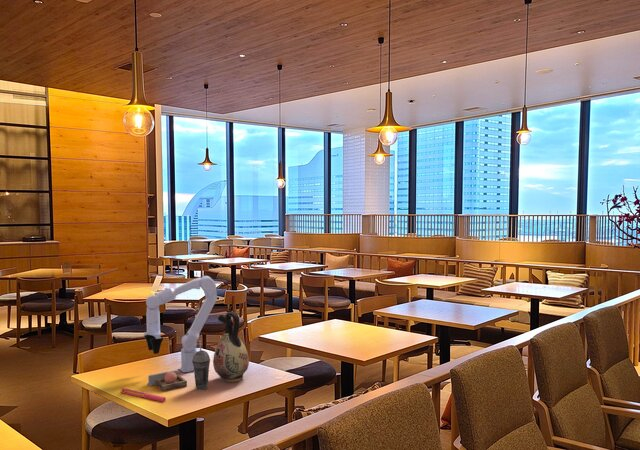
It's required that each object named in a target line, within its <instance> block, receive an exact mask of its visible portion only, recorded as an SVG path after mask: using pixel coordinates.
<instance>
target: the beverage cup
mask: <svg viewBox="0 0 640 450" xmlns="http://www.w3.org/2000/svg"><path fill="white" fill-rule="evenodd" d="M201 342H202V340H201V339H199V349H200V351H198V352H196V353H195V354H194V356H193V360H192V362H193V367H194V371H193V373H194V374H193V375H194V383H195V388H196V389H195V390H196V391H205V390H208V385H209V371H210V362H211V357H210V354H209V353H208V352H207V351H206V350H202V343H201Z"/></svg>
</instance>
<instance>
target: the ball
mask: <svg viewBox="0 0 640 450" xmlns="http://www.w3.org/2000/svg"><path fill="white" fill-rule="evenodd" d="M167 372H168V373H167V374H166V375H165V377H164V380H165V382H166V383H167V384H171V383H174V382H175V381H176V379H177V376H176V374H175V373H174V372H169V371H167Z"/></svg>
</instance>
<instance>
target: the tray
mask: <svg viewBox="0 0 640 450" xmlns="http://www.w3.org/2000/svg"><path fill="white" fill-rule="evenodd" d="M155 386H156V387H157V388H159V389H160V390H161V391H162V392H167V391H171V390H177V389H182V388H186V387H187V386H188V381H187V380H186V379H184V378H183V377H182V376H181V375H179V374H177V379H176V381H175V382H174V383H171V384H167V383H166V382H165V380H164V378H162V379H157V380H156V384H155Z"/></svg>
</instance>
